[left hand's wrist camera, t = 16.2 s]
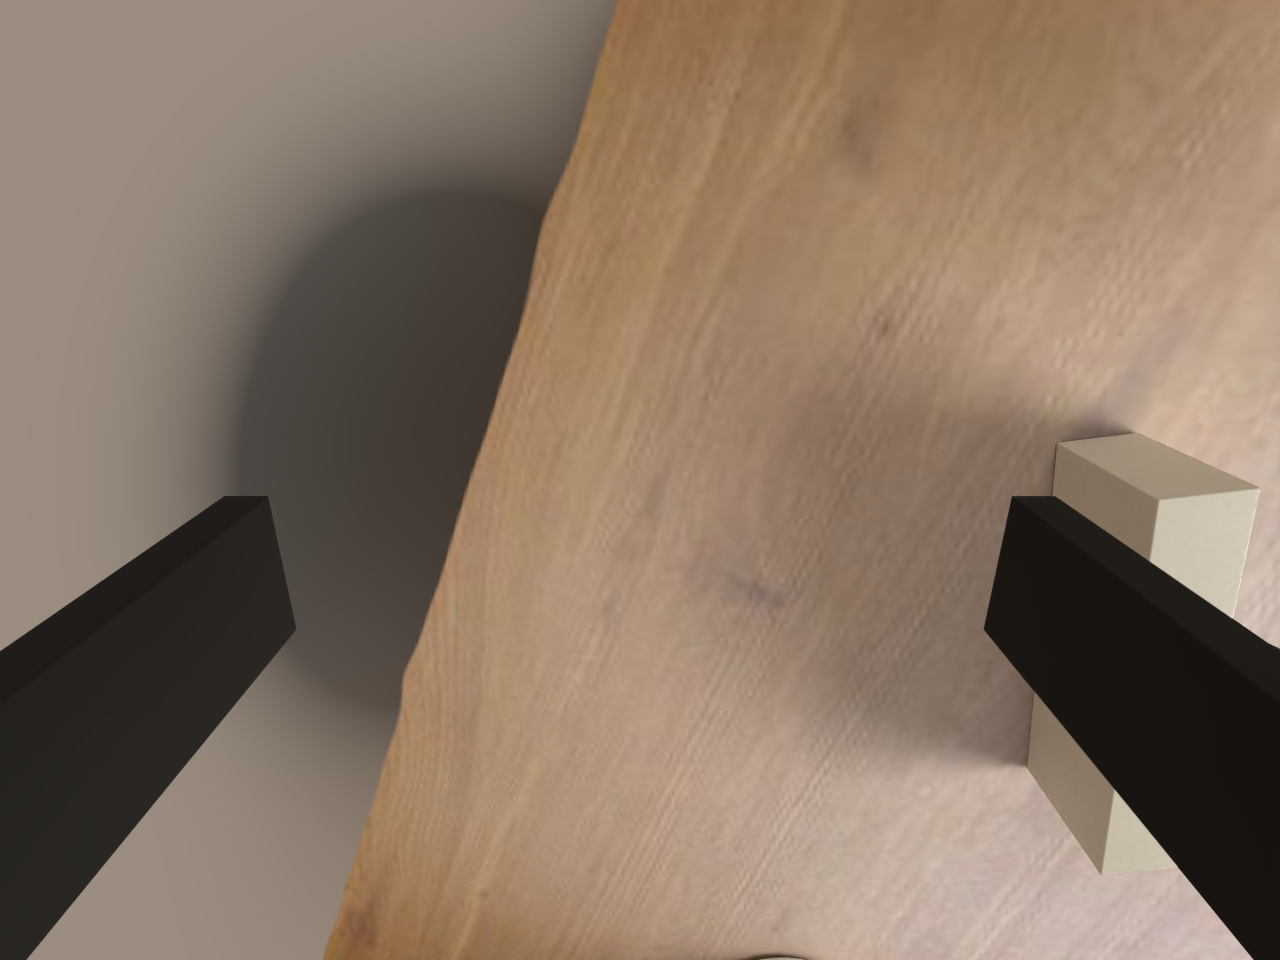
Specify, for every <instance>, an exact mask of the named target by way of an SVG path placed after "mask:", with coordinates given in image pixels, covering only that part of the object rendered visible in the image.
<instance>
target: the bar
mask: <svg viewBox="0 0 1280 960" xmlns="http://www.w3.org/2000/svg"><path fill="white" fill-rule="evenodd" d="M1259 491H1260V488H1259V487H1257V486H1255V485H1253V484H1250V483H1248V482H1246V481H1244V480H1241V479H1239V478H1237V477H1235V476H1233V475H1230V474H1228V473H1226V472H1224V471H1222V470H1219V469H1217V468H1215V467H1213V466H1211V465H1208V464H1206V463H1204V462H1202V461H1199V460H1197V459H1195V458H1193V457H1191V456H1188V455H1186V454H1184V453H1182V452H1180V451H1177V450H1175V449H1173V448H1171V447H1168V446H1166V445H1164V444H1162V443H1160V442H1157V441H1155V440H1153V439H1151V438H1149V437H1146V436H1144V435H1142V434H1140V433H1132V434H1124V435H1116V436H1108V437H1100V438H1091V439H1083V440H1075V441H1067V442H1059V443H1057V449H1056V460H1055V471H1054V482H1053V493H1052V496H1056V497H1057V498H1059V499H1060V500H1062V501H1063V502H1065V503H1066V504H1067V505H1069V506H1070V507H1072V508H1073V509H1075V510H1076V511H1078V512H1079V513H1081V514H1082V515H1083V516H1085V517H1086V518H1088V519H1089V520H1091V521H1092V522H1094V523H1095V524H1096V525H1098V526H1099V527H1101V528H1102V529H1104V530H1105V531H1107V532H1108V533H1109V534H1111V535H1112V536H1114V537H1115V538H1117V539H1118V540H1120V541H1121V542H1122V543H1124V544H1125V545H1127V546H1128V547H1130V548H1131V549H1133V550H1134V551H1135V552H1137V553H1138V554H1140V555H1141V556H1143V557H1144V558H1146V559H1147V560H1148V561H1150V562H1151V563H1153V564H1154V565H1156V566H1157V567H1159V568H1160V569H1161V570H1163V571H1164V572H1166V573H1167V574H1169V575H1170V576H1172V577H1173V578H1174V579H1176V580H1177V581H1179V582H1180V583H1182V584H1183V585H1185V586H1186V587H1188V588H1189V589H1190V590H1192V591H1193V592H1195V593H1196V594H1198V595H1199V596H1201V597H1202V598H1203V599H1205V600H1206V601H1208V602H1209V603H1211V604H1212V605H1214V606H1215V607H1216V608H1218V609H1219V610H1221V611H1222V612H1224V613H1225V614H1227V615H1228V616H1229V617H1231V618H1232V619H1233V614H1234V610H1235V605H1236V600H1237V595H1238V591H1239V586H1240V581H1241V576H1242V572H1243V567H1244V562H1245V557H1246V553H1247V548H1248V543H1249V539H1250V534H1251V529H1252V524H1253V520H1254V515H1255V510H1256V505H1257V501H1258V496H1259ZM1027 768H1028V770H1029V771H1030V773H1031V774H1032V776H1033V777H1034V778H1035V780H1036V781H1037V783H1038V784H1039V786H1040V787H1041V789H1042V790H1043V792H1044V793H1045V794H1046V796H1047V797H1048V799H1049V800H1050V802H1051V803H1052V805H1053V806H1054V807H1055V809H1056V810H1057V812H1058V813H1059V815H1060V816H1061V818H1062V819H1063V821H1064V822H1065V823H1066V825H1067V826H1068V828H1069V829H1070V831H1071V832H1072V834H1073V835H1074V836H1075V838H1076V839H1077V841H1078V842H1079V844H1080V845H1081V847H1082V848H1083V849H1084V851H1085V852H1086V854H1087V855H1088V857H1089V858H1090V860H1091V861H1092V863H1093V864H1094V865H1095V867H1096V868H1097V870H1098V871H1099V873H1100V874H1101V875H1103V874H1114V873H1124V872H1135V871H1146V870H1157V869H1168V868H1178V867H1177V865H1176V864H1175V863H1174V862H1173V860H1172V859H1171V858H1170V857H1169V856H1168V854H1167V853H1166V852H1165V851H1164V849H1163V848H1162V847H1161V846H1160V845H1159V843H1158V842H1157V841H1156V840H1155V838H1154V837H1153V836H1152V835H1151V834H1150V832H1149V831H1148V830H1147V829H1146V827H1145V826H1144V825H1143V824H1142V823H1141V821H1140V820H1139V819H1138V818H1137V816H1136V815H1135V814H1134V813H1133V812H1132V810H1131V809H1130V808H1129V807H1128V805H1127V804H1126V803H1125V802H1124V800H1123V799H1122V798H1121V797H1120V796H1119V794H1118V793H1117V792H1116V791H1115V789H1114V788H1113V787H1112V786H1111V785H1110V783H1109V782H1108V781H1107V780H1106V778H1105V777H1104V776H1103V775H1102V774H1101V772H1100V771H1099V770H1098V769H1097V767H1096V766H1095V765H1094V764H1093V763H1092V761H1091V760H1090V759H1089V758H1088V756H1087V755H1086V754H1085V753H1084V752H1083V750H1082V749H1081V748H1080V747H1079V745H1078V744H1077V743H1076V742H1075V741H1074V739H1073V738H1072V737H1071V736H1070V734H1069V733H1068V732H1067V731H1066V730H1065V728H1064V727H1063V726H1062V725H1061V723H1060V722H1059V721H1058V720H1057V719H1056V717H1055V716H1054V715H1053V714H1052V712H1051V711H1050V710H1049V709H1048V707H1047V706H1046V705H1045V704H1044V703H1043V701H1042V700H1041V699H1040V698H1039V696H1038V695H1037V694H1036V693H1035V692H1034V698H1033V709H1032V720H1031V731H1030V742H1029V752H1028V763H1027Z"/></svg>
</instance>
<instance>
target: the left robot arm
mask: <svg viewBox="0 0 1280 960" xmlns="http://www.w3.org/2000/svg"><path fill="white" fill-rule="evenodd" d="M295 630H296V625H295V621H294V616H293V611H292V607H291V602H290V597H289V593H288V588H287V584H286V579H285V574H284V569H283V565H282V560H281V555H280V551H279V546H278V541H277V537H276V532H275V527H274V522H273V518H272V513H271V509H270V504H269V499H268V496H224V497H223V498H221V499H220V500H218V501H217V502H215V503H214V504H212V505H211V506H210V507H208V508H207V509H205V510H204V511H202V512H201V513H200V514H198V515H197V516H195V517H194V518H192V519H191V520H189V521H188V522H186V523H185V524H184V525H182V526H181V527H179V528H178V529H176V530H175V531H174V532H172V533H171V534H169V535H168V536H166V537H165V538H163V539H162V540H160V541H159V542H158V543H156V544H155V545H153V546H152V547H150V548H149V549H147V550H146V551H145V552H143V553H142V554H140V555H139V556H137V557H136V558H134V559H133V560H132V561H130V562H129V563H127V564H126V565H124V566H123V567H121V568H120V569H119V570H117V571H116V572H114V573H113V574H111V575H110V576H108V577H107V578H106V579H104V580H103V581H101V582H100V583H98V584H97V585H95V586H94V587H92V588H91V589H90V590H88V591H87V592H85V593H84V594H82V595H81V596H79V597H78V598H77V599H75V600H74V601H72V602H71V603H69V604H68V605H66V606H65V607H64V608H62V609H61V610H59V611H58V612H56V613H55V614H53V615H52V616H51V617H49V618H48V619H46V620H45V621H43V622H42V623H40V624H39V625H38V626H36V627H35V628H33V629H32V630H30V631H29V632H27V633H26V634H25V635H23V636H22V637H20V638H19V639H17V640H16V641H14V642H13V643H12V644H10V645H9V646H7V647H6V648H4V649H3V650H1V651H0V960H27V958H28V957H29V956H30V955H31V953H32V952H33V951H34V950H35V949H36V947H37V946H38V945H39V944H40V942H41V941H42V940H43V939H44V938H45V936H46V935H47V934H48V933H49V931H50V930H51V929H52V928H53V927H54V925H55V924H56V923H57V922H58V920H59V919H60V918H61V917H62V916H63V914H64V913H65V912H66V911H67V909H68V908H69V907H70V906H71V905H72V903H73V902H74V901H75V900H76V898H77V897H78V896H79V895H80V893H81V892H82V891H83V890H84V889H85V887H86V886H87V885H88V884H89V882H90V881H91V880H92V879H93V878H94V876H95V875H96V874H97V873H98V871H99V870H100V869H101V868H102V867H103V865H104V864H105V863H106V862H107V860H108V859H109V858H110V857H111V856H112V854H113V853H114V852H115V851H116V849H117V848H118V847H119V846H120V845H121V843H122V842H123V841H124V840H125V838H126V837H127V836H128V835H129V833H130V832H131V831H132V830H133V829H134V827H135V826H136V825H137V824H138V823H139V821H140V820H141V819H142V817H143V816H144V815H145V814H146V813H147V812H148V810H149V809H150V808H151V807H152V805H153V804H154V803H155V802H156V800H157V799H158V798H159V797H160V796H161V794H162V793H163V792H164V791H165V789H166V788H167V787H168V786H169V785H170V783H171V782H172V781H173V780H174V778H175V777H176V776H177V775H178V774H179V772H180V771H181V770H182V769H183V767H184V766H185V765H186V764H187V762H188V761H189V760H190V759H191V758H192V756H193V755H194V754H195V753H196V752H197V750H198V749H199V748H200V747H201V745H202V744H203V743H204V742H205V741H206V739H207V738H208V737H209V736H210V734H211V733H212V732H213V731H214V729H215V728H216V727H217V726H218V725H219V723H220V722H221V721H222V720H223V718H224V717H225V716H226V715H227V714H228V712H229V711H230V710H231V709H232V707H233V706H234V705H235V704H236V703H237V701H238V700H239V699H240V698H241V696H242V695H243V694H244V693H245V692H246V690H247V689H248V688H249V687H250V685H251V684H252V683H253V682H254V681H255V679H256V678H257V677H258V676H259V674H260V673H261V672H262V671H263V670H264V668H265V667H266V666H267V665H268V663H269V662H270V661H271V660H272V659H273V657H274V656H275V655H276V654H277V652H278V651H279V650H280V649H281V647H282V646H283V645H284V644H285V643H286V641H287V640H288V639H289V638H290V636H291V635H292V634H293V633H294V632H295ZM984 630H985V632H986V633H987V634H988V635H989V637H990V638H991V639H992V640H993V641H994V643H995V644H996V645H997V646H998V648H999V649H1000V650H1001V651H1002V652H1003V654H1004V655H1005V656H1006V657H1007V659H1008V660H1009V661H1010V662H1011V663H1012V665H1013V666H1014V667H1015V668H1016V670H1017V671H1018V672H1019V673H1020V674H1021V676H1022V677H1023V678H1024V679H1025V681H1026V682H1027V683H1028V684H1029V685H1030V687H1031V688H1032V689H1033V690H1034V692H1035V693H1036V694H1037V695H1038V696H1039V698H1040V699H1041V700H1042V701H1043V703H1044V704H1045V705H1046V706H1047V707H1048V709H1049V710H1050V711H1051V712H1052V714H1053V715H1054V716H1055V717H1056V719H1057V720H1058V721H1059V722H1060V723H1061V725H1062V726H1063V727H1064V728H1065V730H1066V731H1067V732H1068V733H1069V734H1070V736H1071V737H1072V738H1073V739H1074V741H1075V742H1076V743H1077V744H1078V745H1079V747H1080V748H1081V749H1082V750H1083V752H1084V753H1085V754H1086V755H1087V756H1088V758H1089V759H1090V760H1091V761H1092V763H1093V764H1094V765H1095V766H1096V767H1097V769H1098V770H1099V771H1100V772H1101V774H1102V775H1103V776H1104V777H1105V778H1106V780H1107V781H1108V782H1109V783H1110V785H1111V786H1112V787H1113V788H1114V789H1115V791H1116V792H1117V793H1118V794H1119V796H1120V797H1121V798H1122V799H1123V800H1124V802H1125V803H1126V804H1127V805H1128V807H1129V808H1130V809H1131V810H1132V812H1133V813H1134V814H1135V815H1136V816H1137V818H1138V819H1139V820H1140V821H1141V823H1142V824H1143V825H1144V826H1145V827H1146V829H1147V830H1148V831H1149V832H1150V834H1151V835H1152V836H1153V837H1154V838H1155V840H1156V841H1157V842H1158V843H1159V845H1160V846H1161V847H1162V848H1163V849H1164V851H1165V852H1166V853H1167V854H1168V856H1169V857H1170V858H1171V859H1172V860H1173V862H1174V863H1175V864H1176V865H1177V867H1178V868H1179V869H1180V870H1181V871H1182V873H1183V874H1184V875H1185V876H1186V878H1187V879H1188V880H1189V881H1190V882H1191V884H1192V885H1193V886H1194V887H1195V889H1196V890H1197V891H1198V892H1199V893H1200V895H1201V896H1202V897H1203V898H1204V900H1205V901H1206V902H1207V903H1208V905H1209V906H1210V907H1211V908H1212V909H1213V911H1214V912H1215V913H1216V914H1217V916H1218V917H1219V918H1220V919H1221V920H1222V922H1223V923H1224V924H1225V925H1226V927H1227V928H1228V929H1229V930H1230V931H1231V933H1232V934H1233V935H1234V936H1235V938H1236V939H1237V940H1238V941H1239V942H1240V944H1241V945H1242V946H1243V947H1244V949H1245V950H1246V951H1247V952H1248V953H1249V955H1250V956H1251V957H1252V958H1253V960H1280V649H1279V648H1277V647H1275V646H1273V645H1271V644H1269V643H1267V642H1266V641H1264V640H1263V639H1261V638H1260V637H1258V636H1257V635H1255V634H1254V633H1253V632H1251V631H1250V630H1248V629H1247V628H1245V627H1244V626H1242V625H1241V624H1240V623H1238V622H1237V621H1235V620H1234V619H1232V618H1231V617H1229V616H1228V615H1227V614H1225V613H1224V612H1222V611H1221V610H1219V609H1218V608H1216V607H1215V606H1214V605H1212V604H1211V603H1209V602H1208V601H1206V600H1205V599H1203V598H1202V597H1201V596H1199V595H1198V594H1196V593H1195V592H1193V591H1192V590H1190V589H1189V588H1188V587H1186V586H1185V585H1183V584H1182V583H1180V582H1179V581H1177V580H1176V579H1174V578H1173V577H1172V576H1170V575H1169V574H1167V573H1166V572H1164V571H1163V570H1161V569H1160V568H1159V567H1157V566H1156V565H1154V564H1153V563H1151V562H1150V561H1148V560H1147V559H1146V558H1144V557H1143V556H1141V555H1140V554H1138V553H1137V552H1135V551H1134V550H1133V549H1131V548H1130V547H1128V546H1127V545H1125V544H1124V543H1122V542H1121V541H1120V540H1118V539H1117V538H1115V537H1114V536H1112V535H1111V534H1109V533H1108V532H1107V531H1105V530H1104V529H1102V528H1101V527H1099V526H1098V525H1096V524H1095V523H1094V522H1092V521H1091V520H1089V519H1088V518H1086V517H1085V516H1083V515H1082V514H1081V513H1079V512H1078V511H1076V510H1075V509H1073V508H1072V507H1070V506H1069V505H1067V504H1066V503H1065V502H1063V501H1062V500H1060V499H1059V498H1057V497H1056V496H1012V499H1011V504H1010V508H1009V513H1008V518H1007V522H1006V527H1005V532H1004V537H1003V541H1002V546H1001V551H1000V555H999V560H998V565H997V569H996V574H995V579H994V583H993V588H992V593H991V597H990V602H989V607H988V611H987V616H986V621H985V625H984Z"/></svg>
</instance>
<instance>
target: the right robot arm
mask: <svg viewBox="0 0 1280 960" xmlns="http://www.w3.org/2000/svg"><path fill="white" fill-rule="evenodd" d="M760 960H804V959H798V958H767V959H760Z"/></svg>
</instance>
